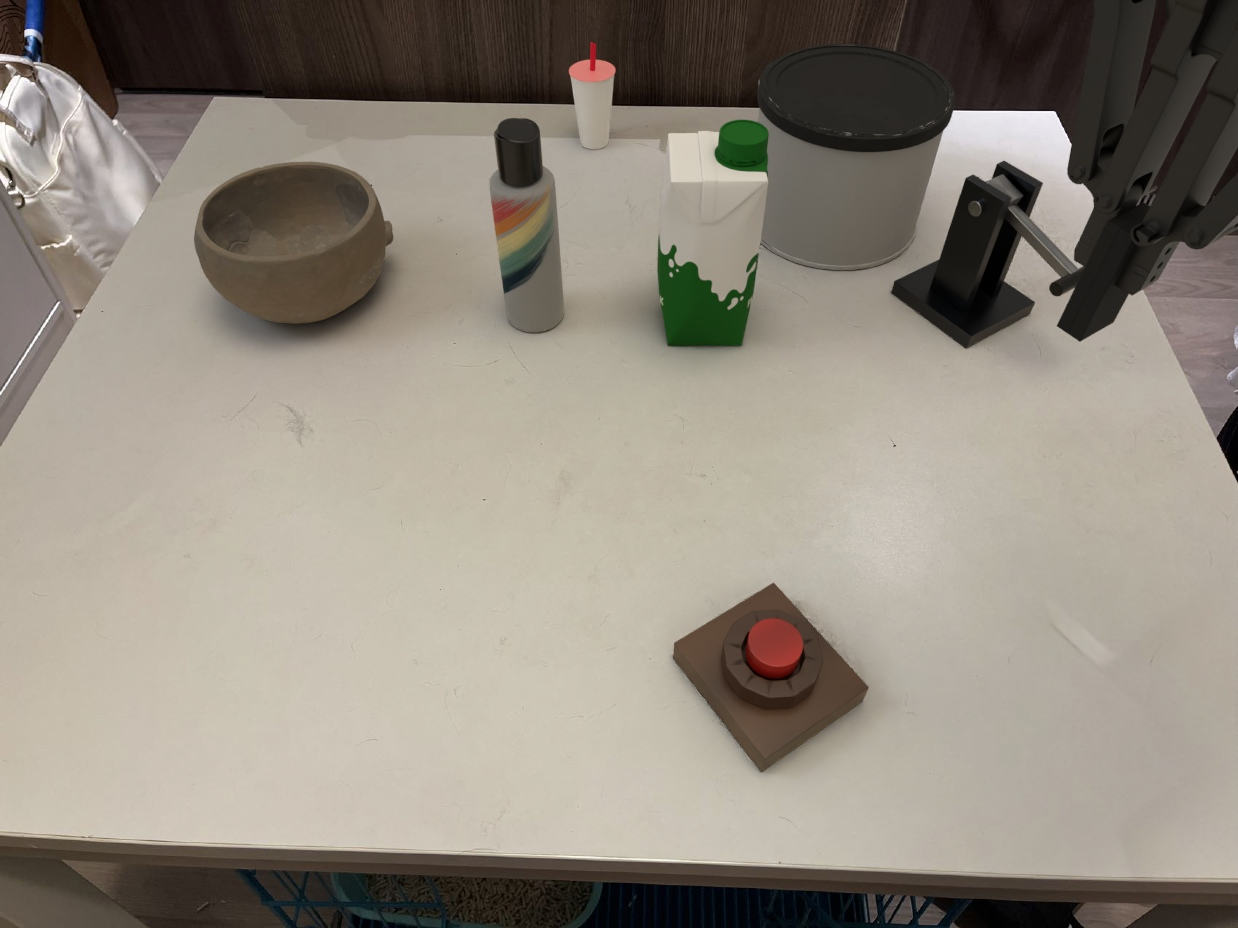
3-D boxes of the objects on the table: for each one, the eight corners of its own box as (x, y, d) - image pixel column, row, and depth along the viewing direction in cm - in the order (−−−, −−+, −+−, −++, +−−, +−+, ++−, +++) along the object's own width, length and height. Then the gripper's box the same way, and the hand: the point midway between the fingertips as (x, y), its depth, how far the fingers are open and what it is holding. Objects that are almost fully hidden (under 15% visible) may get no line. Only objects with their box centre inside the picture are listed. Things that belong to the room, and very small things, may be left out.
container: (869, 295, 90) (905, 159, 78) (711, 230, 97) (722, 98, 85) (945, 207, 99) (986, 75, 88) (796, 154, 107) (816, 26, 95)
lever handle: (1091, 283, 78) (1108, 265, 76) (1053, 303, 76) (1069, 286, 74) (999, 188, 82) (1013, 168, 80) (961, 205, 80) (974, 186, 78)
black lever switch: (1030, 314, 88) (1085, 190, 77) (966, 348, 84) (1014, 225, 74) (953, 261, 93) (995, 140, 82) (890, 292, 90) (925, 170, 79)
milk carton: (752, 352, 84) (779, 161, 69) (656, 352, 84) (662, 161, 69) (744, 293, 90) (768, 104, 75) (654, 293, 90) (660, 105, 75)
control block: (862, 701, 61) (875, 674, 58) (761, 772, 58) (768, 748, 55) (770, 597, 67) (776, 568, 64) (672, 657, 64) (674, 629, 61)
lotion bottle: (526, 290, 91) (505, 102, 75) (575, 306, 89) (563, 117, 74) (496, 323, 87) (467, 134, 72) (545, 341, 86) (527, 150, 70)
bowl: (412, 239, 96) (394, 154, 89) (379, 351, 85) (354, 265, 77) (255, 237, 97) (222, 153, 89) (200, 348, 85) (158, 263, 78)
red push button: (810, 661, 60) (814, 648, 58) (768, 689, 58) (771, 676, 57) (775, 622, 61) (779, 608, 60) (734, 647, 60) (737, 635, 59)
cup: (616, 130, 110) (615, 32, 101) (616, 153, 107) (615, 54, 98) (572, 130, 110) (567, 32, 101) (572, 154, 107) (566, 54, 98)
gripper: (1655, -204, 27) (1241, 368, 45) (1250, -283, 34) (1033, 238, 52) (1536, -159, 24) (1147, 429, 42) (1123, -254, 31) (942, 284, 49)
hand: (1085, 324), depth 47 cm, fingers closed
